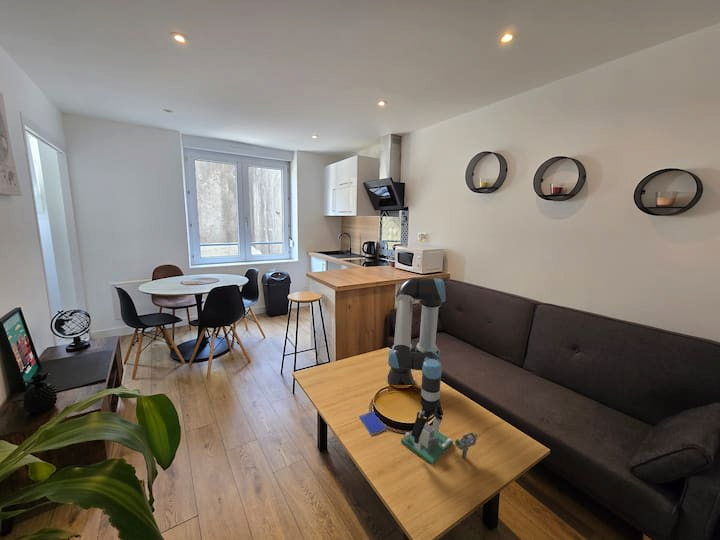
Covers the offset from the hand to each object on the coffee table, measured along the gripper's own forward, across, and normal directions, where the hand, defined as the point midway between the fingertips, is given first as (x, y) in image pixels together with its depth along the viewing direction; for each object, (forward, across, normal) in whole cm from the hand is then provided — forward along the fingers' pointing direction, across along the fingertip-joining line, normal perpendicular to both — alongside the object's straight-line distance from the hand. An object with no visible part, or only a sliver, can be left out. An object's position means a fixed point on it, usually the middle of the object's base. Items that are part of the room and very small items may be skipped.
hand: (426, 439), depth 130 cm
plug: (+2, 0, 0) cm, 2 cm away
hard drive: (+5, +7, -26) cm, 27 cm away
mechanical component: (+4, -7, +14) cm, 16 cm away
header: (+2, 0, 0) cm, 2 cm away
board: (+4, -2, -1) cm, 4 cm away
